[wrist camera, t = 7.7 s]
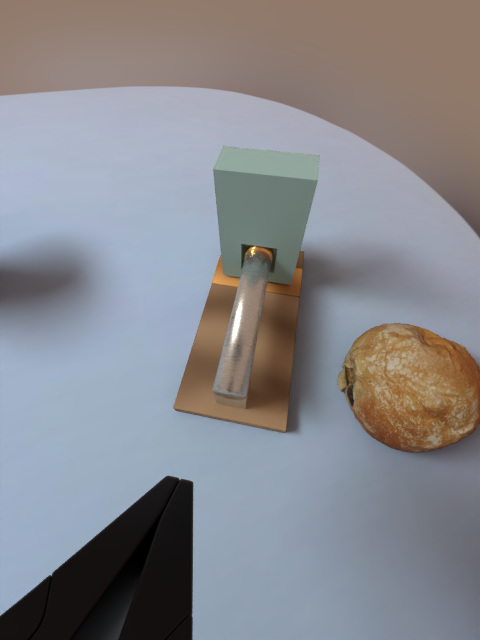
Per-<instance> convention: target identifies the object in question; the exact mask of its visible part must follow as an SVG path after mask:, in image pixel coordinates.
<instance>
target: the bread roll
mask: <svg viewBox="0 0 480 640" xmlns="http://www.w3.org/2000/svg"><path fill="white" fill-rule="evenodd" d="M342 367H343V368H344V369H343V371H342V372H341V373H340V374H339V376H338V386H339V389H340V391H344V393H345V395H346V399H347V401H348V403H349V406H350V408H351V410H352V411H353V412H354V415H355V418H356V419H357V420H358V421H359V423H360V424H361V425H362V427H363V429H364V430H365V431H366V432H367V433H368V434H369V435H370V436H372V437H373V438H375V439H376V440H378V441H379V442H381V443H383V444H385V445H387V446H389V447H391V448H393V449H396V450H401V451H406V452H424V451H430V450H434V449H438V448H442V447H445V446H448V445H450V444H452V443H455V442H458V441H460V440H461V439H462V438H464V437H466V436H467V435H469V434H471V433H472V432H474V431H475V429H476V427H477V425H478V424H480V370H479V367H478V366H477V364H476V362H475V360H474V359H473V358H472V357H471V355H470V354H469V353H468V351H467V350H466V348H465V347H464V346H462V345H459V344H457V343H455V342H453V341H450V340H447V339H445V338H442V337H440V336H439V335H436V334H435V333H433V332H431V331H429V330H427V329H424V328H420V327H417V326H413V325H409V324H399V323H394V324H383V325H380V326H376V327H374V328H371V329H370V330H368V331H367V332H365V333H364V334H362V335H361V336H360V337H358V338H357V339H356V341H355V342H354V343H353V345H352V347H351V349H350V350H349V352H348V354H347V356H346V357H345V361H344V363H343V365H342Z"/></svg>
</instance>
